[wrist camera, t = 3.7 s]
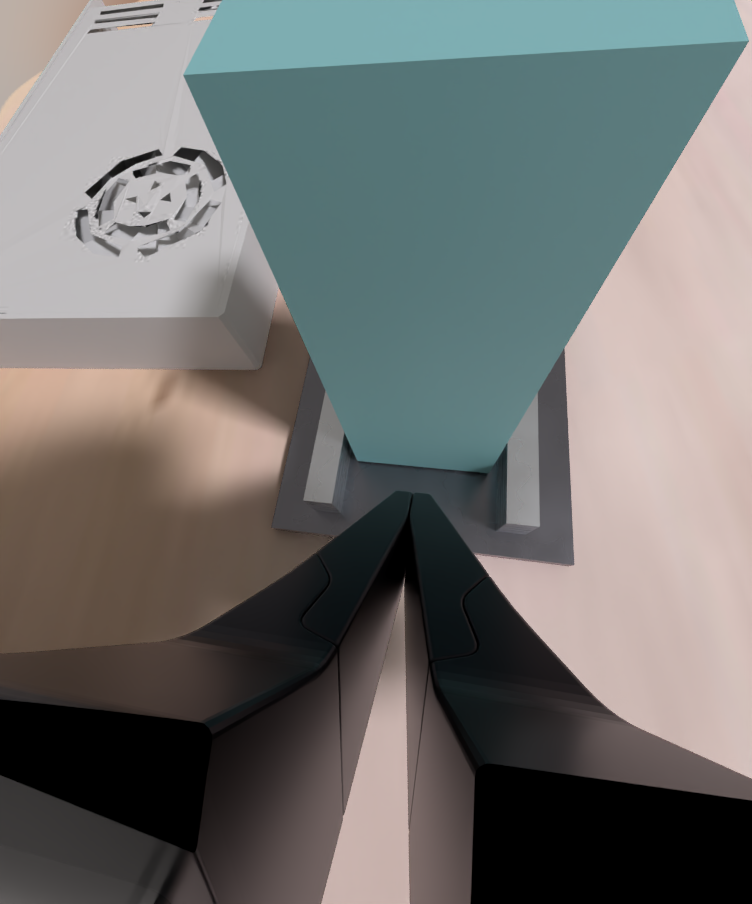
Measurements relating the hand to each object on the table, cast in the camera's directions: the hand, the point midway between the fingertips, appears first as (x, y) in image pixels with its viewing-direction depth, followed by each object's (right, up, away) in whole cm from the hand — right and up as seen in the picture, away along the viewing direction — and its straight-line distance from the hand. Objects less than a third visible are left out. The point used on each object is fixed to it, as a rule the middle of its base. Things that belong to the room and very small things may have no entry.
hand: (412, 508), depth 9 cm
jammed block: (+2, +3, +10) cm, 10 cm away
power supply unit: (-15, +21, +20) cm, 33 cm away
